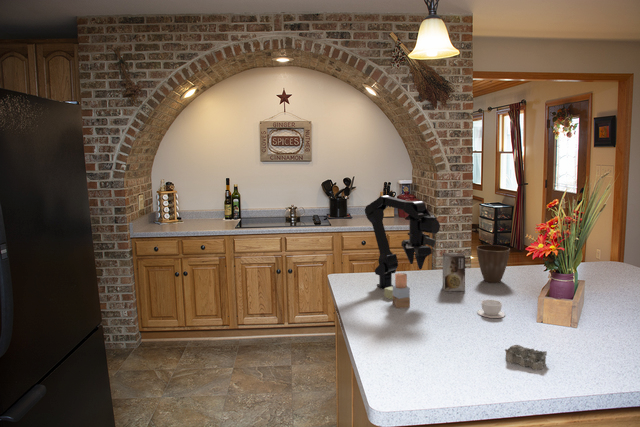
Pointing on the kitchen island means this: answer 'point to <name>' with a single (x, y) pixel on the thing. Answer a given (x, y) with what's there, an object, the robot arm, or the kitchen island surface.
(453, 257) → the coffee box
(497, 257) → the plant pot
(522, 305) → the kitchen island surface
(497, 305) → the teacup
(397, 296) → the tower mid
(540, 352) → the egg carton
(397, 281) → the terracotta cylinder
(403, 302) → the tower base
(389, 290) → the olive block
